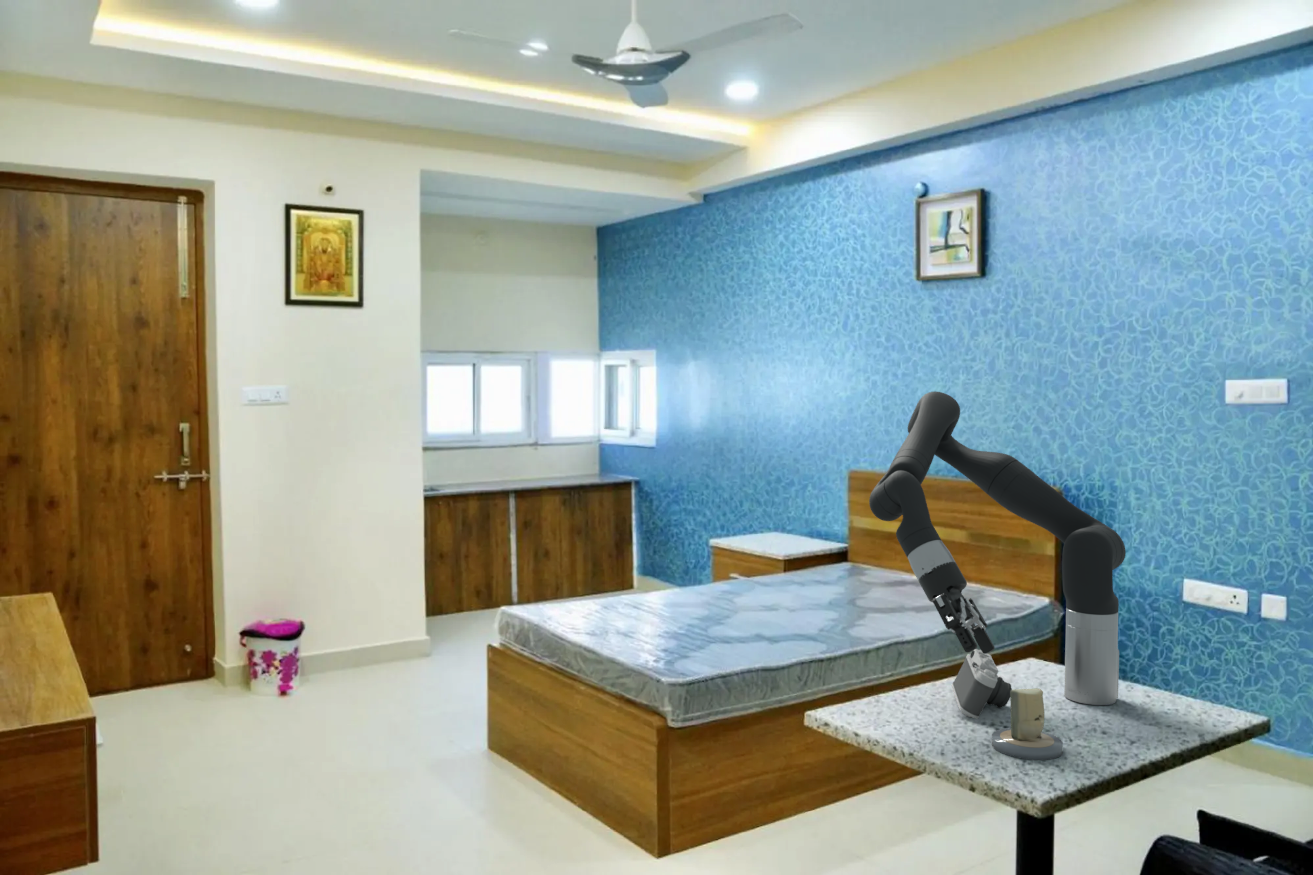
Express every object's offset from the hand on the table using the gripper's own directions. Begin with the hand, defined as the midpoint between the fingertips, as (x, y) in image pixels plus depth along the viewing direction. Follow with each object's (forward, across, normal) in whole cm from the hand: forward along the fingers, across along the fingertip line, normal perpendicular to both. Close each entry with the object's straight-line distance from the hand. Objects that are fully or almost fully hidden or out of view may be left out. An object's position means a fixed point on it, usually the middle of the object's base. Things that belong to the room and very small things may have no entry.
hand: (981, 651), depth 174 cm
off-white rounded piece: (+16, +2, 0) cm, 16 cm away
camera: (+7, -14, -9) cm, 18 cm away
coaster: (+18, +2, 0) cm, 18 cm away
